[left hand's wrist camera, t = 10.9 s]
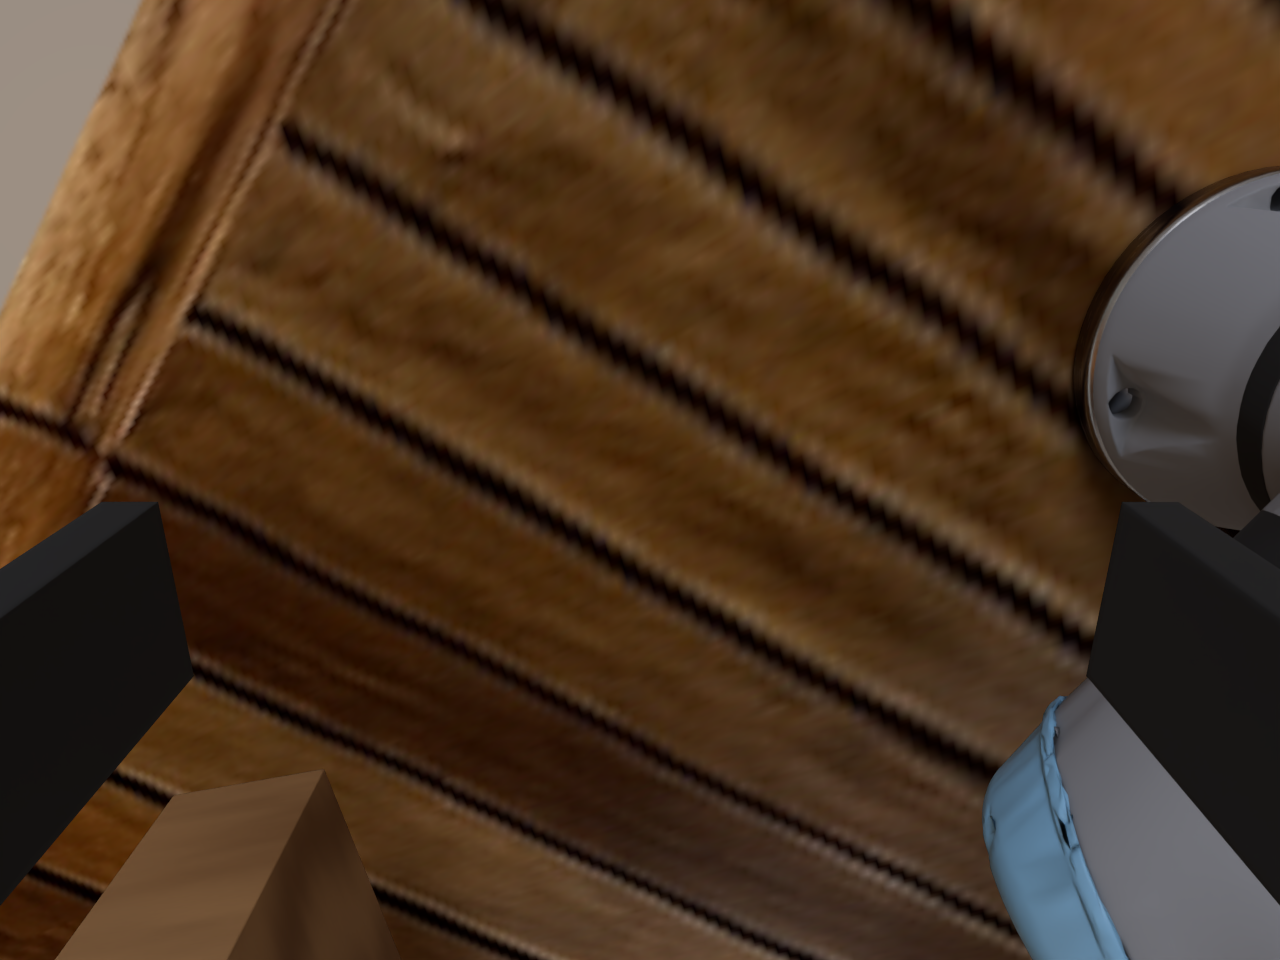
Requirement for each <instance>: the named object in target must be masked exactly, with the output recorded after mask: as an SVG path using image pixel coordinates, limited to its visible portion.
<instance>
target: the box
mask: <svg viewBox="0 0 1280 960" xmlns="http://www.w3.org/2000/svg"><path fill="white" fill-rule="evenodd" d="M55 960H401V958H400V955H399V953H398V950H397V948H396V945H395V943H394V941H393V938H392V936H391V933H390V931H389V928H388V926H387V923H386V921H385V918H384V916H383V913H382V911H381V908H380V906H379V904H378V901H377V899H376V896H375V894H374V891H373V889H372V886H371V884H370V881H369V879H368V876H367V874H366V872H365V869H364V867H363V864H362V862H361V859H360V857H359V854H358V852H357V849H356V847H355V844H354V842H353V839H352V837H351V835H350V832H349V830H348V827H347V825H346V822H345V820H344V817H343V815H342V812H341V810H340V807H339V805H338V803H337V800H336V798H335V795H334V793H333V790H332V788H331V785H330V783H329V780H328V778H327V775H326V773H325V770H324V769H321V770H315V771H309V772H304V773H298V774H293V775H287V776H281V777H276V778H270V779H264V780H259V781H253V782H247V783H242V784H236V785H230V786H225V787H219V788H213V789H208V790H202V791H197V792H191V793H185V794H180V795H175V796H173V797H172V799H171V800H170V802H169V803H168V804H167V806H166V807H165V808H164V810H163V811H162V813H161V814H160V815H159V817H158V818H157V820H156V821H155V822H154V824H153V825H152V826H151V828H150V829H149V831H148V832H147V833H146V835H145V836H144V838H143V839H142V840H141V842H140V843H139V844H138V846H137V847H136V849H135V850H134V851H133V853H132V854H131V855H130V857H129V858H128V860H127V861H126V862H125V864H124V865H123V867H122V868H121V869H120V871H119V872H118V873H117V875H116V876H115V878H114V879H113V880H112V882H111V883H110V885H109V886H108V887H107V889H106V890H105V891H104V893H103V894H102V896H101V897H100V898H99V900H98V901H97V903H96V904H95V905H94V907H93V908H92V909H91V911H90V912H89V914H88V915H87V916H86V918H85V919H84V921H83V922H82V923H81V925H80V926H79V927H78V929H77V930H76V932H75V933H74V934H73V936H72V937H71V939H70V940H69V941H68V943H67V944H66V945H65V947H64V948H63V950H62V951H61V952H60V954H59V955H58V957H57V958H56V959H55Z"/></svg>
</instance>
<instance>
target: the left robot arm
mask: <svg viewBox="0 0 1280 960" xmlns="http://www.w3.org/2000/svg"><path fill="white" fill-rule="evenodd" d="M1074 396H1075V403H1076V409H1077V413H1078V417H1079V421H1080V424H1081V427H1082V430H1083V432H1084V435H1085V437H1086V439H1087V441H1088V443H1089V445H1090V447H1091V449H1092V451H1093V452H1094V454H1095V455H1096V456H1097V458H1098V459H1099V461H1100V462H1101V464H1102V465H1103V466H1104V467H1105V468H1106V469H1107V470H1108V471H1109V472H1110V474H1111V475H1113V476H1114V477H1115V478H1116V479H1117V480H1118V481H1119V482H1121V483H1122V484H1123V485H1124V486H1126V487H1127V488H1129V489H1130V490H1132V491H1133V492H1134V493H1136V494H1137V495H1139V496H1140V497H1142V498H1143V499H1145V500H1146V501H1147V502H1122V505H1121V509H1120V514H1119V519H1118V524H1117V529H1116V534H1115V539H1114V544H1113V548H1112V553H1111V558H1110V563H1109V568H1108V573H1107V578H1106V583H1105V587H1104V592H1103V597H1102V602H1101V607H1100V612H1099V617H1098V621H1097V626H1096V631H1095V636H1094V641H1093V646H1092V651H1091V656H1090V660H1089V665H1088V670H1087V675H1086V676H1087V677H1088V678H1087V679H1086V680H1085V681H1083V682H1082V683H1081V684H1080V685H1079V686H1078V687H1077V688H1076V689H1075V690H1074V691H1073V692H1072V693H1071V694H1070V695H1069V696H1065V697H1063V696H1059V697H1058V698H1057V699H1055V700H1054V701H1053V702H1052V703H1051V704H1050V705H1049V706H1048V707H1047V709H1046V711H1045V712H1044V715H1043V720H1042V723H1041V724H1040V725H1039V726H1038V727H1037V728H1036V729H1035V730H1034V731H1033V732H1032V734H1031V735H1030V736H1029V737H1028V738H1027V739H1026V740H1025V741H1024V742H1023V743H1022V745H1021V746H1020V747H1019V748H1018V749H1017V750H1016V751H1015V752H1014V753H1013V754H1012V755H1011V756H1010V757H1009V758H1008V760H1007V761H1006V762H1005V763H1004V764H1003V765H1002V766H1001V767H1000V768H999V769H998V770H997V772H996V773H995V775H994V776H993V778H992V779H991V781H990V783H989V785H988V788H987V791H986V794H985V798H984V803H983V810H982V823H983V836H984V841H985V844H986V847H987V850H988V854H989V861H990V868H991V871H992V874H993V877H994V879H995V882H996V885H997V888H998V890H999V893H1000V895H1001V898H1002V900H1003V903H1004V905H1005V907H1006V909H1007V912H1008V914H1009V916H1010V918H1011V920H1012V922H1013V924H1014V926H1015V928H1016V930H1017V932H1018V934H1019V936H1020V938H1021V940H1022V941H1023V943H1024V945H1025V947H1026V949H1027V951H1028V953H1029V954H1030V956H1031V958H1032V960H1280V166H1275V167H1266V168H1261V169H1257V170H1252V171H1247V172H1244V173H1241V174H1238V175H1234V176H1231V177H1228V178H1226V179H1223V180H1221V181H1218V182H1216V183H1214V184H1211V185H1209V186H1207V187H1205V188H1203V189H1201V190H1199V191H1197V192H1195V193H1193V194H1192V195H1190V196H1188V197H1187V198H1185V199H1184V200H1182V201H1180V202H1179V203H1177V204H1176V205H1174V206H1173V207H1171V208H1170V209H1169V210H1167V211H1166V212H1165V213H1163V214H1162V215H1161V216H1159V217H1158V218H1157V219H1156V220H1155V221H1153V222H1152V223H1151V224H1150V225H1149V226H1148V227H1147V228H1146V229H1144V230H1143V231H1142V232H1141V233H1140V234H1139V235H1138V236H1137V237H1136V239H1135V240H1134V241H1133V242H1132V243H1131V244H1130V245H1129V246H1128V247H1127V248H1126V250H1125V251H1124V252H1123V253H1122V254H1121V256H1120V257H1119V258H1118V259H1117V261H1116V262H1115V263H1114V265H1113V266H1112V268H1111V269H1110V271H1109V272H1108V274H1107V275H1106V276H1105V278H1104V280H1103V282H1102V283H1101V285H1100V287H1099V289H1098V290H1097V292H1096V294H1095V296H1094V298H1093V300H1092V303H1091V305H1090V307H1089V309H1088V311H1087V314H1086V317H1085V320H1084V323H1083V325H1082V328H1081V332H1080V336H1079V340H1078V344H1077V349H1076V356H1075V362H1074ZM1215 526H1216V527H1215ZM1217 527H1222V528H1229V529H1235V530H1241V531H1240V532H1239V533H1238V534H1237V535H1236V536H1235V537H1234V538H1232V537H1230V536H1229V535H1227V534H1226V533H1224V532H1223V531H1221V530H1220V529H1218V528H1217ZM193 676H194V675H193V670H192V665H191V660H190V656H189V651H188V646H187V641H186V636H185V631H184V626H183V621H182V617H181V612H180V607H179V602H178V597H177V592H176V587H175V583H174V578H173V573H172V568H171V563H170V558H169V553H168V548H167V544H166V539H165V534H164V529H163V524H162V519H161V514H160V509H159V505H158V502H101V503H99V504H98V505H96V506H95V507H93V508H92V509H90V510H89V511H87V512H86V513H84V514H83V515H81V516H80V517H78V518H77V519H75V520H74V521H72V522H71V523H69V524H68V525H66V526H65V527H63V528H62V529H60V530H59V531H57V532H56V533H54V534H53V535H51V536H50V537H48V538H47V539H45V540H44V541H42V542H40V543H39V544H37V545H36V546H34V547H33V548H31V549H30V550H28V551H27V552H25V553H24V554H22V555H21V556H19V557H18V558H16V559H15V560H13V561H12V562H10V563H9V564H7V565H6V566H4V567H3V568H1V569H0V905H1V904H2V903H3V902H4V900H5V899H6V898H7V897H8V896H9V895H10V893H11V892H12V891H13V890H14V889H15V887H16V886H17V885H18V884H19V883H20V881H21V880H22V879H23V878H24V877H25V876H26V874H27V873H28V872H29V871H30V870H31V868H32V867H33V866H34V865H35V864H36V862H37V861H38V860H39V859H40V858H41V857H42V855H43V854H44V853H45V852H46V851H47V849H48V848H49V847H50V846H51V845H52V843H53V842H54V841H55V840H56V839H57V838H58V836H59V835H60V834H61V833H62V832H63V830H64V829H65V828H66V827H67V826H68V824H69V823H70V822H71V821H72V820H73V819H74V817H75V816H76V815H77V814H78V813H79V811H80V810H81V809H82V808H83V807H84V806H85V804H86V803H87V802H88V801H89V800H90V798H91V797H92V796H93V795H94V794H95V792H96V791H97V790H98V789H99V788H100V787H101V785H102V784H103V783H104V782H105V781H106V779H107V778H108V777H109V776H110V775H111V773H112V772H113V771H114V770H115V769H116V768H117V766H118V765H119V764H120V763H121V762H122V760H123V759H124V758H125V757H126V756H127V754H128V753H129V752H130V751H131V750H132V749H133V747H134V746H135V745H136V744H137V743H138V741H139V740H140V739H141V738H142V737H143V736H144V734H145V733H146V732H147V731H148V730H149V728H150V727H151V726H152V725H153V724H154V722H155V721H156V720H157V719H158V718H159V717H160V715H161V714H162V713H163V712H164V711H165V709H166V708H167V707H168V706H169V705H170V703H171V702H172V701H173V700H174V699H175V698H176V696H177V695H178V694H179V693H180V692H181V690H182V689H183V688H184V687H185V686H186V684H187V683H188V682H189V681H190V680H191V679H192V677H193Z"/></svg>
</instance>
